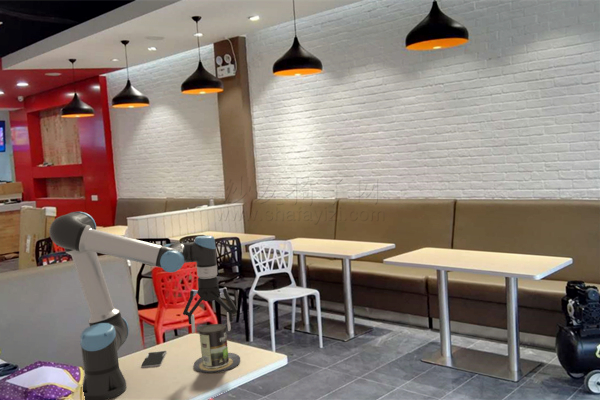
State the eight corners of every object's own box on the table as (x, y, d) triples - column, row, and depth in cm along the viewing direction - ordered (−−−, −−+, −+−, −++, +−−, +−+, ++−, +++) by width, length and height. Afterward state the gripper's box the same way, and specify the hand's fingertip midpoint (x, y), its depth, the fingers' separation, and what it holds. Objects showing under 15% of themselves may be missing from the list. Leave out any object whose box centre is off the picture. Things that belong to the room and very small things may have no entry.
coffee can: (232, 358, 215) (229, 323, 214) (224, 368, 205) (220, 332, 204) (208, 358, 217) (204, 323, 216) (198, 368, 207) (194, 332, 206)
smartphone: (140, 366, 216) (148, 352, 231) (141, 369, 216) (148, 355, 231) (160, 364, 217) (166, 350, 232) (160, 367, 217) (167, 353, 232)
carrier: (189, 375, 205) (186, 344, 204) (198, 356, 224) (195, 327, 223) (238, 371, 205) (235, 340, 204) (242, 352, 224) (239, 324, 223)
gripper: (172, 280, 204) (176, 336, 206) (239, 276, 205) (243, 332, 207) (176, 276, 212) (180, 329, 214) (241, 272, 212) (244, 325, 214)
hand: (211, 331), depth 210 cm, fingers open, 13 cm apart
